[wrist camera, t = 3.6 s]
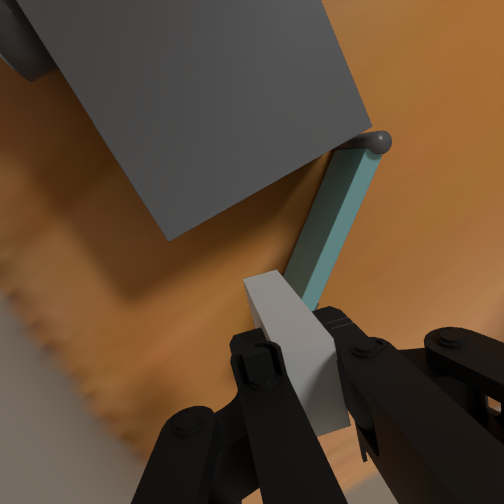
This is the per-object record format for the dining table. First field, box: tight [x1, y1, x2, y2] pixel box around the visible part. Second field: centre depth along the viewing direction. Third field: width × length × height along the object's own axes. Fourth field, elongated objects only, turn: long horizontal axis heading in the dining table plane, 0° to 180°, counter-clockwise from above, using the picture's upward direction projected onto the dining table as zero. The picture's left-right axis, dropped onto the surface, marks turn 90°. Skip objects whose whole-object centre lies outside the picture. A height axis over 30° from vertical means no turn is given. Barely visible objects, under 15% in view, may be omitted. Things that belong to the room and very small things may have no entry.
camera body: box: [0, 0, 372, 242], centre depth 19 cm, size 18×14×6 cm
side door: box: [283, 131, 392, 311], centre depth 23 cm, size 2×13×5 cm, turn 159°
